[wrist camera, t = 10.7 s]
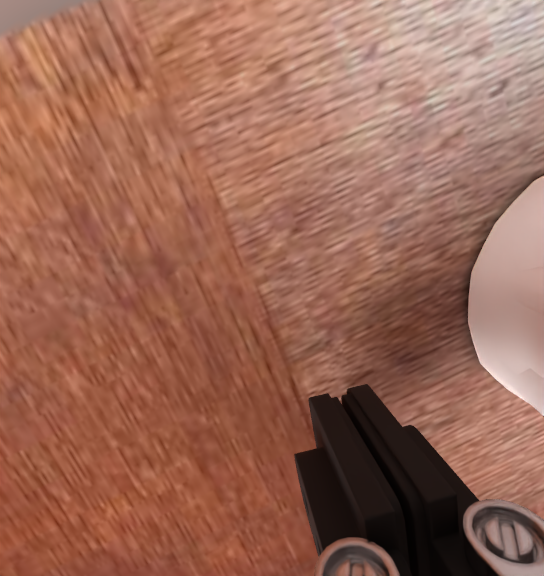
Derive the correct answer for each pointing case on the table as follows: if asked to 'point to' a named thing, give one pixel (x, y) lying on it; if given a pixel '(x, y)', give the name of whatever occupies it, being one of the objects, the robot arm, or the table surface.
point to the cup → (512, 298)
